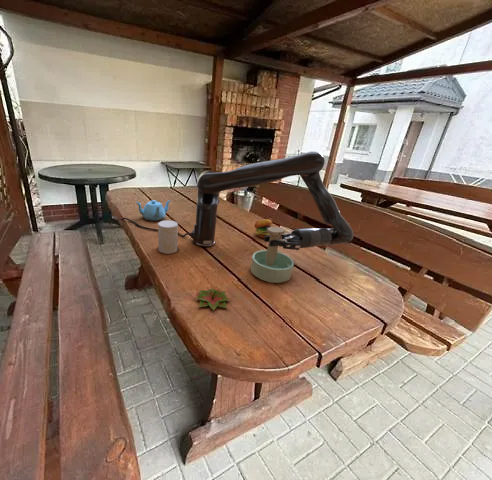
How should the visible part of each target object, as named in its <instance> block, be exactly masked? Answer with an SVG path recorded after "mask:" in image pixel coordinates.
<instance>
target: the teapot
mask: <svg viewBox="0 0 492 480" xmlns="http://www.w3.org/2000/svg"><path fill="white" fill-rule="evenodd" d="M171 201H172V200H171V199H169V200H167V201H166V202H165V206H163V204H162V203H161V202H160V201H157V200H155V199H152V200H150V201H148V202H147V203H146V204H145V205H144V207H142V204H141V203H140V202H138V201H135V203H136V204H137V206H138V212H139V213H140V215H142V217H143V218H144V219H145V220H146V221H152V222H154V221H155V222H157V221H163V220H164V218H165V217H166V214H167V213H168V211H169V203H170V202H171Z"/></svg>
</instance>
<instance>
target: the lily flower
mask: <svg viewBox="0 0 492 480" xmlns="http://www.w3.org/2000/svg"><path fill="white" fill-rule="evenodd" d="M209 288H210V289H209ZM209 288H207V289H198V290H199V291H198V292H199V295H197V296H196V297H195V299H196V300H200V301H199V305H198V308H202V307H209V308H211V309H212V311H213V312H214V311H215V310H216V308H217V307H220V308H223V309H227V310H228V309H229V308H228V305H227V303H226V301H231V299H230V298H229V297H228V296H227V295H226V290H219V288H218V286H216V287H215V289H214V288H212V287H211V286H209Z"/></svg>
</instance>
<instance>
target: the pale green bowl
mask: <svg viewBox="0 0 492 480" xmlns="http://www.w3.org/2000/svg"><path fill="white" fill-rule="evenodd" d="M266 252H267V249H262V250H257V251H255V252H253V254H252V256H251V262H250V272H251V274H252V275H253V276H254V277H256V278H257V279H259V280H260V281H261V280H262V281H264V282H267V283H272V284H278V283H285V282H287V281H289V280H290V279H291V278H292V275H293V271H294V266H295V262H294V260H293V258H292V257H290V256H289V255H287V254H285V253H283V252H280V251H277V256H276V259H275V262H274V265H273V266H272V267H271V266H267V265H266V264H265V261H266Z"/></svg>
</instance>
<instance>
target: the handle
mask: <svg viewBox="0 0 492 480" xmlns="http://www.w3.org/2000/svg"><path fill="white" fill-rule="evenodd" d="M285 231H286V230H285V228H283V227H279V226H271V227H270V228H268V229H267V233H268V234H270V239H269V242H268V243H267V249H266V250H267V252H266V261H265V264H266V265H267V266H271V267H272V266H273V265H274V262H275V259H276V256H277V252H278V248H279V246H269V243H270V240H279V237H280V236H281V235H283V234H284V233H286V232H285ZM281 237H282V236H281Z"/></svg>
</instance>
